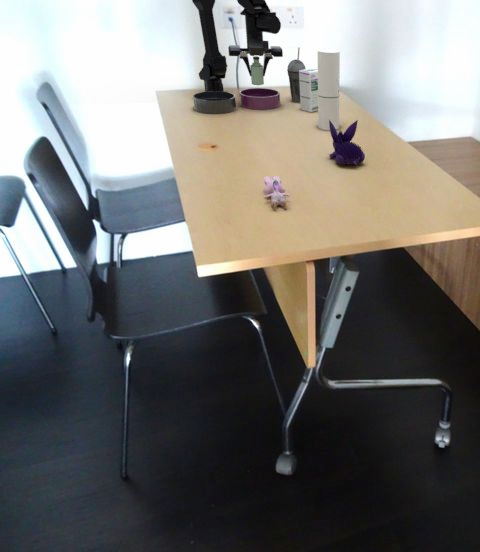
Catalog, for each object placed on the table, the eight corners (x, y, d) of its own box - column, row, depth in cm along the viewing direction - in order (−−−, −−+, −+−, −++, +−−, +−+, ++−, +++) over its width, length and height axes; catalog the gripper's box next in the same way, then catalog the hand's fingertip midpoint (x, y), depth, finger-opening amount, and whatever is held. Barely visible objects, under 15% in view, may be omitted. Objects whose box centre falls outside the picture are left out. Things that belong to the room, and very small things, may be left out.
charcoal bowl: (185, 111, 202) (183, 96, 200) (213, 103, 214) (211, 89, 211) (218, 118, 198) (217, 103, 195) (244, 109, 209) (243, 95, 207)
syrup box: (311, 112, 211) (310, 72, 204) (299, 109, 214) (298, 69, 207) (321, 110, 215) (321, 70, 208) (310, 106, 218) (309, 67, 211)
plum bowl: (232, 107, 211) (231, 93, 208) (256, 99, 222) (255, 86, 220) (265, 113, 206) (264, 99, 203) (287, 105, 218) (287, 91, 215)
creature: (347, 149, 177) (347, 110, 170) (370, 169, 163) (372, 127, 157) (320, 152, 173) (319, 112, 167) (342, 172, 159) (342, 129, 153)
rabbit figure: (293, 213, 137) (282, 181, 148) (293, 192, 133) (282, 161, 144) (267, 215, 135) (258, 183, 146) (266, 194, 131) (257, 162, 142)
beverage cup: (286, 99, 226) (283, 45, 216) (303, 98, 229) (302, 45, 218) (291, 103, 220) (289, 49, 210) (309, 102, 223) (308, 49, 213)
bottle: (249, 84, 208) (247, 56, 204) (256, 82, 212) (254, 55, 207) (259, 85, 207) (257, 58, 202) (266, 83, 211) (264, 56, 206)
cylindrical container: (340, 125, 199) (341, 49, 186) (337, 131, 193) (337, 53, 180) (320, 123, 199) (320, 48, 187) (316, 129, 193) (315, 51, 181)
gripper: (227, 33, 191) (231, 80, 199) (283, 34, 196) (284, 81, 204) (226, 28, 200) (230, 74, 208) (280, 29, 205) (282, 74, 213)
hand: (257, 76), depth 208 cm, fingers closed on bottle, 4 cm apart
